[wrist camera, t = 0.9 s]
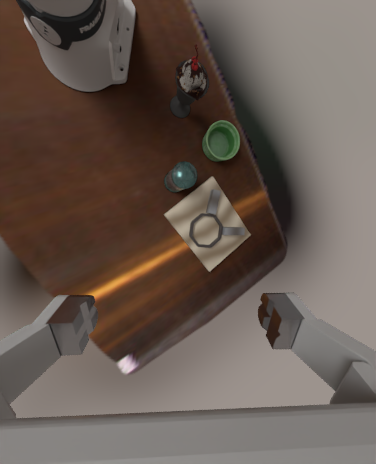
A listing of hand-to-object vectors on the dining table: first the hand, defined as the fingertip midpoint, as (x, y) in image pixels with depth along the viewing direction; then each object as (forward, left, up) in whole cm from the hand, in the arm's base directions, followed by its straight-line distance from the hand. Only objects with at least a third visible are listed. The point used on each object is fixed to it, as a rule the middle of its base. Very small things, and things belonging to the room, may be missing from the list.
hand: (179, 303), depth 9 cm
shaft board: (-6, +16, -38) cm, 42 cm away
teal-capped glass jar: (-13, +3, -38) cm, 41 cm away
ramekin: (-26, +10, -39) cm, 48 cm away
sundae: (-30, -2, -38) cm, 49 cm away
